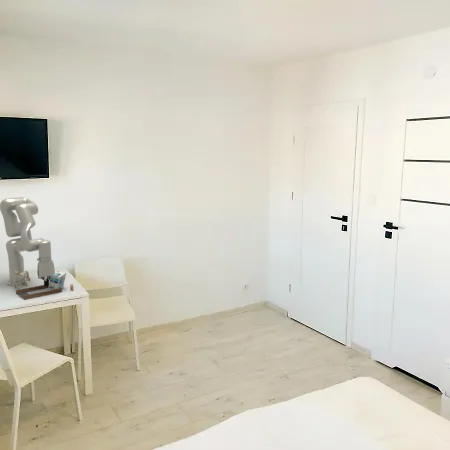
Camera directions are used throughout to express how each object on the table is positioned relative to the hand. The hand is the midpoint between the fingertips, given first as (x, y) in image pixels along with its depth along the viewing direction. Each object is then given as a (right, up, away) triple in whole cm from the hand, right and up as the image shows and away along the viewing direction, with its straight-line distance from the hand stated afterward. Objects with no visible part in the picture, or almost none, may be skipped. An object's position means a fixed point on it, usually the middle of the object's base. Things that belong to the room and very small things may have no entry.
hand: (46, 286), depth 304 cm
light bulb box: (+4, -3, +4) cm, 7 cm away
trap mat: (-11, -5, -9) cm, 15 cm away
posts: (+10, -2, +10) cm, 14 cm away
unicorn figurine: (-18, -2, +8) cm, 20 cm away
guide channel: (-4, -4, -3) cm, 7 cm away
